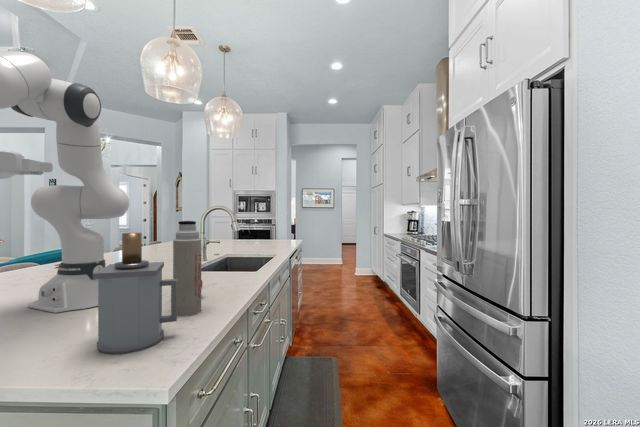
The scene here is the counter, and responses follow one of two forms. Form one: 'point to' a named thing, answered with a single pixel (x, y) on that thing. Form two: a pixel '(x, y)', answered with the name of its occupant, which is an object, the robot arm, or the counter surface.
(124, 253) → the brown candle holder
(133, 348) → the press carafe
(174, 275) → the thermos bottle
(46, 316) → the counter surface
